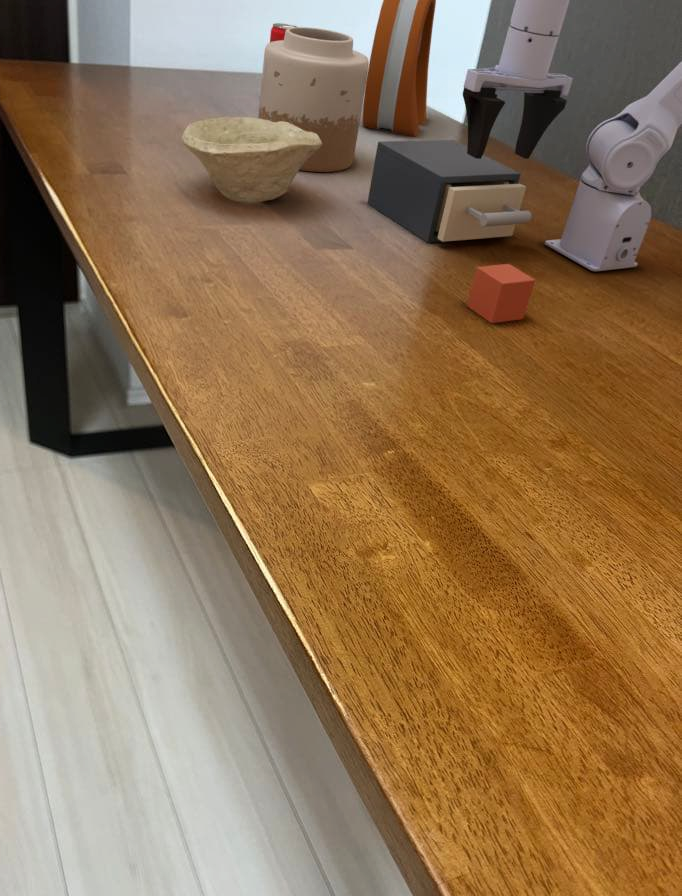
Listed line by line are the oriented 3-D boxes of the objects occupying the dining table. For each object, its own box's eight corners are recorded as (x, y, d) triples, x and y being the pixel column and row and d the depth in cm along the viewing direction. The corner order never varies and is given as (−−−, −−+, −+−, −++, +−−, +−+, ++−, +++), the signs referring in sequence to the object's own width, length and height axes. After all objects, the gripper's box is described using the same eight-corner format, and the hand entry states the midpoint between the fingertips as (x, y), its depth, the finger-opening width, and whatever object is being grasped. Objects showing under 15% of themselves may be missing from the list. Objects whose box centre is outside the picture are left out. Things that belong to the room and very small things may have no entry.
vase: (367, 158, 136) (388, 39, 125) (328, 179, 125) (347, 50, 114) (282, 136, 140) (295, 19, 130) (237, 155, 129) (247, 28, 119)
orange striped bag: (413, 141, 147) (444, -13, 133) (357, 131, 149) (382, -23, 134) (428, 115, 164) (457, -25, 150) (378, 105, 165) (402, -34, 151)
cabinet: (503, 236, 114) (521, 173, 109) (427, 242, 109) (442, 176, 104) (440, 199, 124) (453, 139, 119) (367, 203, 118) (377, 141, 113)
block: (523, 319, 93) (535, 279, 91) (491, 323, 91) (503, 283, 89) (497, 302, 96) (509, 263, 93) (466, 306, 94) (476, 266, 92)
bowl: (250, 248, 112) (166, 166, 105) (255, 193, 125) (180, 117, 118) (329, 174, 105) (245, 80, 98) (326, 124, 118) (251, 38, 111)
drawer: (535, 249, 109) (550, 198, 105) (464, 255, 104) (477, 203, 100) (451, 200, 121) (462, 153, 117) (384, 204, 116) (393, 155, 112)
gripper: (558, 26, 103) (522, 146, 111) (462, 18, 96) (432, 145, 105) (599, 40, 98) (558, 164, 106) (501, 32, 92) (466, 164, 100)
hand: (498, 156), depth 105 cm, fingers open, 7 cm apart
